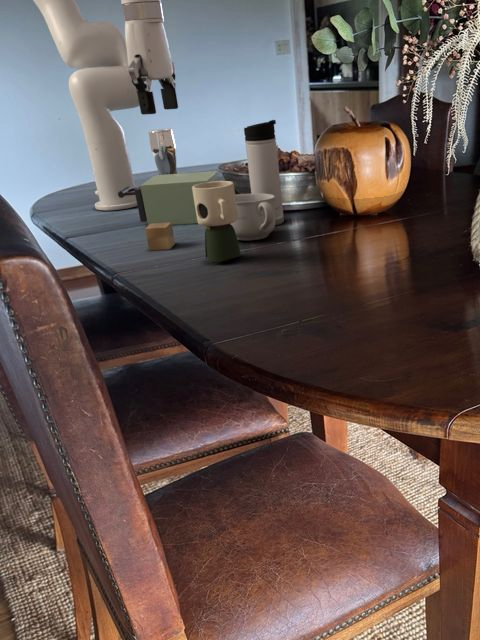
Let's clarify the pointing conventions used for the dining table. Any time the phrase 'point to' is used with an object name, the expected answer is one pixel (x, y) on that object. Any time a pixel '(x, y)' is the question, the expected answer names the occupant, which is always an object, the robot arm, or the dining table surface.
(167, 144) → the beer glass
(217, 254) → the character mug
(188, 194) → the cabinet
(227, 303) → the dining table surface
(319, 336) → the dining table surface
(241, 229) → the teacup
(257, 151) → the travel mug
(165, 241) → the block
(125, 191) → the drawer
